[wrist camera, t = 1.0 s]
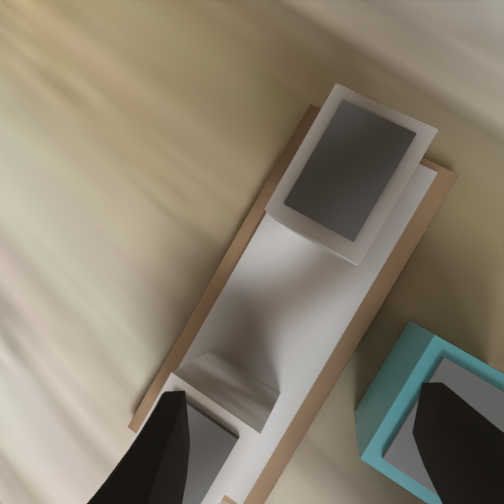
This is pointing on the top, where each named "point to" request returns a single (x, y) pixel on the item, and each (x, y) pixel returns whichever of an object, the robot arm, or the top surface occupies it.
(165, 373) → the board
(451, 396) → the robot arm
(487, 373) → the module
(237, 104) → the top surface
